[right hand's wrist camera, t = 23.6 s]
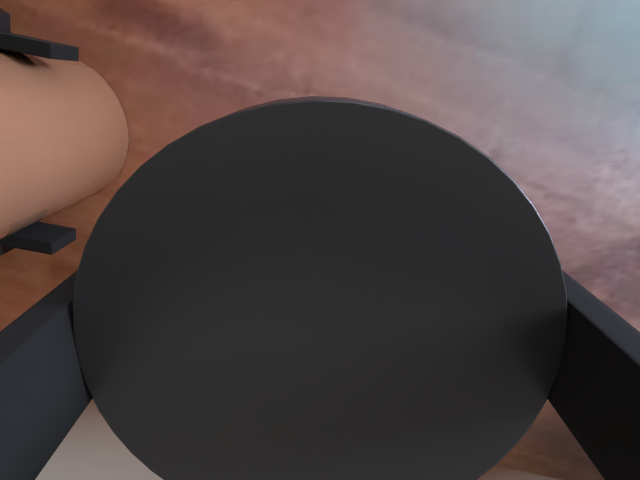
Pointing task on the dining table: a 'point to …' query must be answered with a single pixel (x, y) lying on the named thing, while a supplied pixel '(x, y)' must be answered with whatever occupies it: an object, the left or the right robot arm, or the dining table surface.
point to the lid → (319, 301)
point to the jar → (54, 137)
